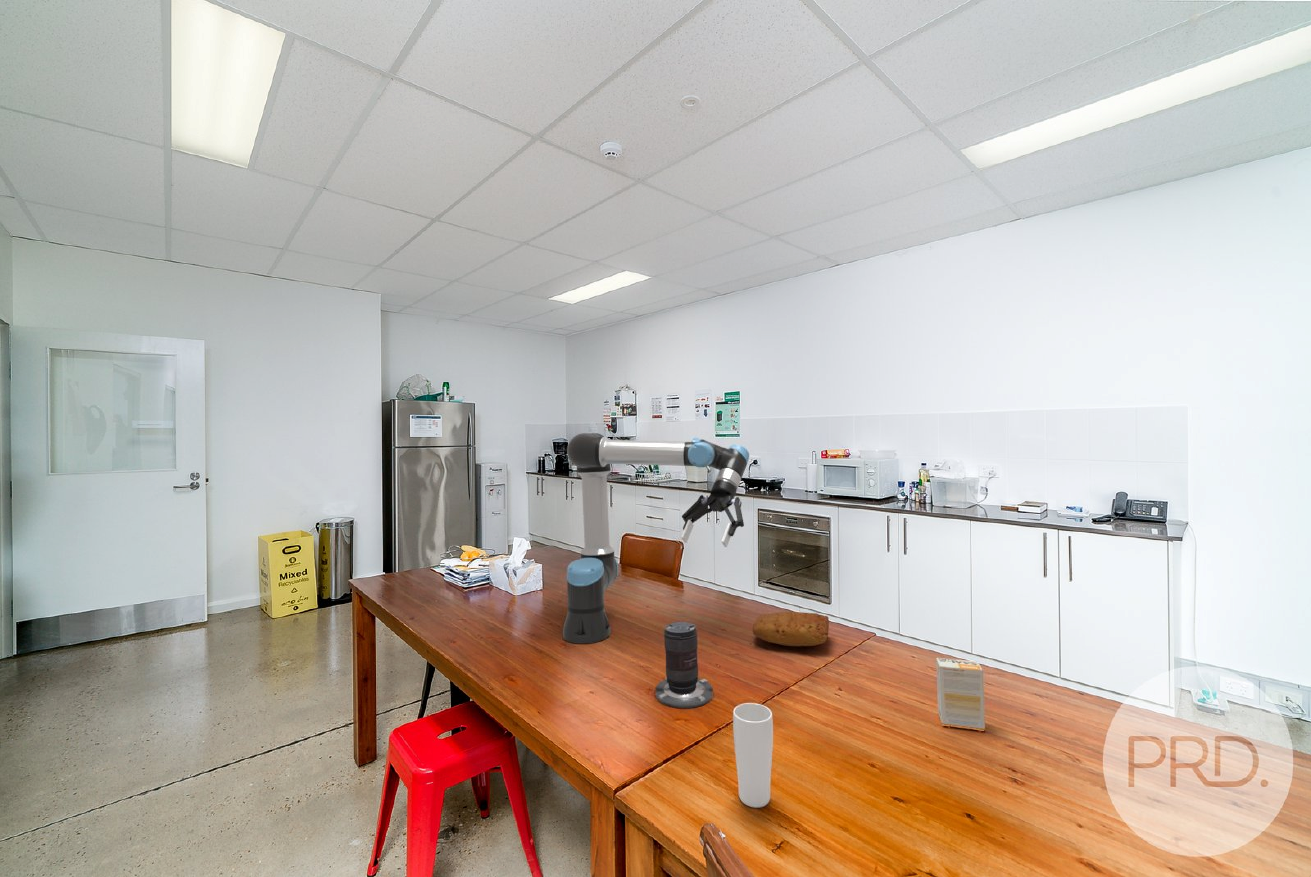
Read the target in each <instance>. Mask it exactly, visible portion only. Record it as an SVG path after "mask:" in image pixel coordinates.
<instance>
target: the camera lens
mask: <svg viewBox="0 0 1311 877" xmlns="http://www.w3.org/2000/svg"><path fill="white" fill-rule="evenodd" d="M696 627H697V626H696V624H694V623H691V622H686V621H678V622H671V623H669V624H666V625H665V627H664V632H663V636H664V640H663V641H664V650H665V678H667V683H668V685H669V690H670V691H671V692H673V693H676V694H688V693H691V692H693V691H694V690H695V689H696V683H697V682H698V678H699V664H698V630H697V628H696Z"/></svg>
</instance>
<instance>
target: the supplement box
mask: <svg viewBox="0 0 1311 877" xmlns="http://www.w3.org/2000/svg"><path fill="white" fill-rule="evenodd" d="M935 661H936V662H935V664H936V687H937V690H936V691H937V714H939V716H938V718H939V717H940V719H939V721H940V720H941V721H940V723H941V722H942V724H944V725H950V726H951V725H953V726H962V727H970V728H976V729H980V730H985V731H986V713H985V711H986V710H985V689H984V688H985V687H984V670H983V668H982V667H981V665H980V664H979V662H978V661H975V660H974V661H973V660H965V659H954V658H945V657H936V660H935ZM942 724H941V725H942Z"/></svg>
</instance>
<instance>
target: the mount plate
mask: <svg viewBox="0 0 1311 877" xmlns="http://www.w3.org/2000/svg"><path fill="white" fill-rule="evenodd" d="M654 691H655V698H656V700H657V699H658V700H657V701H658V702H659V701H660V702H659V703H661V704H663V705H664V704H665V705H664V706H666V707H670V708H674V707H675V708H676V709H695V708H699V707H701V706H705V705H707V704H708V703H709V702H710V701H712V699H713V696H714V689H713V686H712V684H710V682H708V679H705V678H700V677H698V682H697V683H696V689H695V690H694V691H693V692H691V693H688V694H676V693H673V692H671V691H670V690H669V685H668V683H667V677H665V678H664V680H661V681H660V682H659V683H657V685H656V687H655V690H654ZM704 704H705V705H704Z"/></svg>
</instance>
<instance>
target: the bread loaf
mask: <svg viewBox="0 0 1311 877" xmlns="http://www.w3.org/2000/svg"><path fill="white" fill-rule="evenodd" d="M829 623H830V619H829V616H827V615H824V614H819V613H817V612H816V613H815V612H802V611H801V612H799V611H794V612H793V611H781V612H774V613H768V614H761V615H760V616H758V617H757V618H756V619H755V621H754V623H753V626H752V634H753V635H754V636H755V637H757V638H759V639H761V640H762V641H766V642H768V643H772V644H778V645H781V646H785V647H786V646H788V647H810V646H811V647H813V646H817V645H821V644H825V643H826V642H827V640H828V637H829V630H830V629H829V627H830V624H829Z"/></svg>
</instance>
